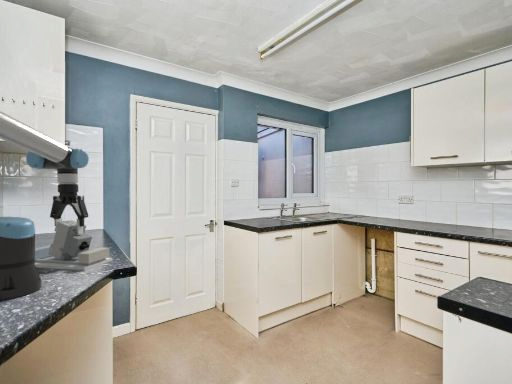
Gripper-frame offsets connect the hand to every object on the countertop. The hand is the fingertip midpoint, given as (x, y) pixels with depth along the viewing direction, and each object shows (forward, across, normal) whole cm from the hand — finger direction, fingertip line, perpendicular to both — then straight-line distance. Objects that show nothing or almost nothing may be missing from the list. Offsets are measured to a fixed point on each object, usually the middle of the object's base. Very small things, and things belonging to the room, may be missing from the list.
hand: (69, 233), depth 123 cm
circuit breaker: (+11, 0, +1) cm, 11 cm away
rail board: (+13, +1, +1) cm, 13 cm away
